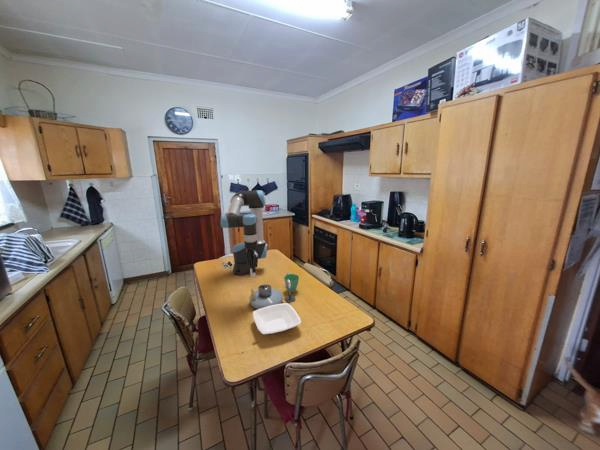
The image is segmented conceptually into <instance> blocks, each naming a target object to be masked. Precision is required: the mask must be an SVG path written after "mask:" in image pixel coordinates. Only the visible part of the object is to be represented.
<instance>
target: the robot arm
mask: <svg viewBox="0 0 600 450" xmlns="http://www.w3.org/2000/svg"><path fill="white" fill-rule="evenodd" d="M265 198H266V197H265V192H264V191H263V190H258V189H254V190H241V191H238V192H236V193H235V194H233V195H232V197H231V198H230V202H229V203H230V205H229V208H228V210H227V213H226V215H222V216H220V227H221V228H222V229H231V228H243V239H244V241H243V242H238V243H236V244H235V245H233V247H232V249H233V251H232V253H233V267H232V274H234V275H236V276H244V275H248V274H250V278H252V279H253V278H255V277H257V275H256V268H258V262H259V261H258V260H259V259H266V257H267V255H268V254H267V252H268V243H267V242H266V240H264V227H263V226H264V224H263V223H264V222H263V221H264V220H263V209H264V208H265V206H266V205H267V204H266V199H265ZM242 207H248V209H249V210H250V213H249V214H241V215H240V212H241V209H242Z"/></svg>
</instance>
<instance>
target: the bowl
mask: <svg viewBox="0 0 600 450" xmlns="http://www.w3.org/2000/svg"><path fill="white" fill-rule="evenodd" d="M252 318H253V321H254V323H255V325H256V328H257V330H258V331H259V332H260V333H261V334H262V335H269V334H270V335H271V334H277V333H280V332H284V331H287V330H290V329H292V328H295V327H297V326H298V325H301V324H302V320H301V317H300V316H299V314H298V313H297V311H296V310H295V308H294V307H293V306H292V305H290V303H288V302H285V303H283V302H281V303H280V304H276V305H271V306H267V307H264V308H260V309H256V310H253V311H252Z"/></svg>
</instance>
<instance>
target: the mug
mask: <svg viewBox="0 0 600 450" xmlns="http://www.w3.org/2000/svg"><path fill="white" fill-rule="evenodd" d="M283 279H284V284H285V286H286V280H288V279H289V280H290V282H291V292H292V293H295V292H296V290H297V287H298V284H299V280H300V278H299V275H297V274H296V273H295V274H293V273H290V272H286V275H285V276H284V277H283ZM286 289H287V291H288V292H289V288H288V287H287V286H286Z"/></svg>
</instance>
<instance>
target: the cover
mask: <svg viewBox="0 0 600 450" xmlns="http://www.w3.org/2000/svg"><path fill="white" fill-rule="evenodd" d="M271 289H272V286H271V285H270V284H260V285H259V286H258V289H257V290H258V292H259V297H261V298H267V297H270V296H271V295H272V293H271Z"/></svg>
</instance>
